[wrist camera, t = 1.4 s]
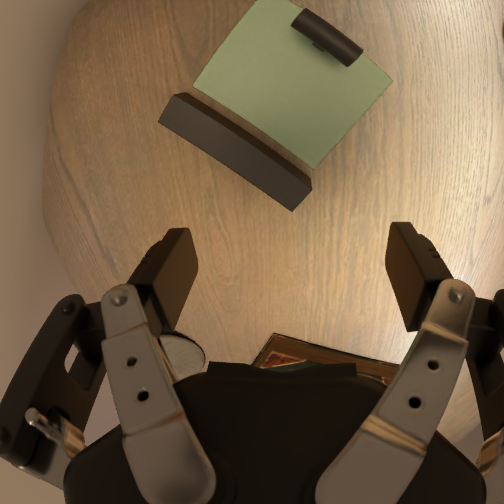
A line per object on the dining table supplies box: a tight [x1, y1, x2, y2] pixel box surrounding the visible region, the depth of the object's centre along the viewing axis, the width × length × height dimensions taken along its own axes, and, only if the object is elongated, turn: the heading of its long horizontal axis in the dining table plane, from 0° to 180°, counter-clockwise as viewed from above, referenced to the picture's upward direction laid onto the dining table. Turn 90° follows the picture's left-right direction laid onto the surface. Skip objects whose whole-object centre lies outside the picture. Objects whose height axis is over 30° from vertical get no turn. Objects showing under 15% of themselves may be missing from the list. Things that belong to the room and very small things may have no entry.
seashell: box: [160, 335, 205, 380], centre depth 45 cm, size 12×6×10 cm
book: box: [251, 333, 400, 385], centre depth 45 cm, size 17×4×25 cm
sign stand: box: [158, 92, 312, 212], centre depth 25 cm, size 15×3×3 cm, turn 55°
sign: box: [193, 0, 393, 170], centre depth 19 cm, size 14×12×6 cm
